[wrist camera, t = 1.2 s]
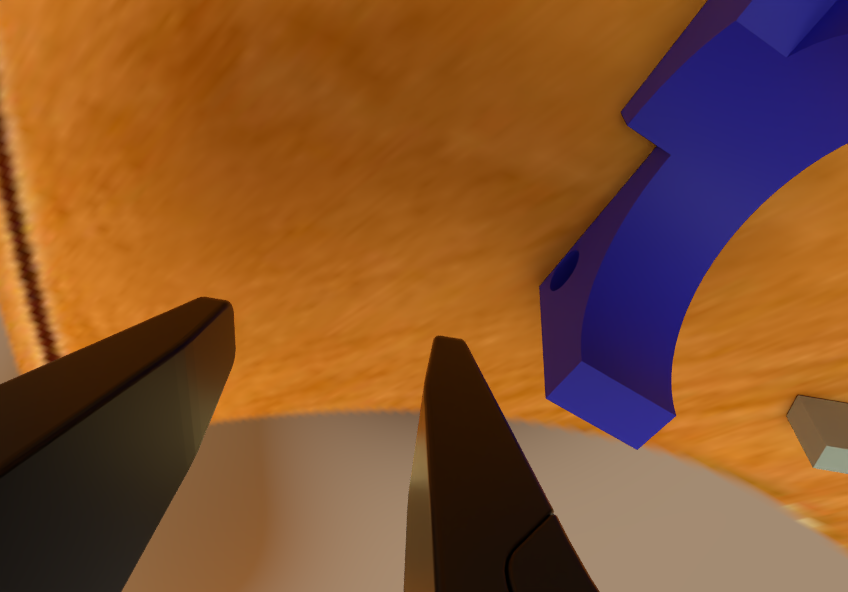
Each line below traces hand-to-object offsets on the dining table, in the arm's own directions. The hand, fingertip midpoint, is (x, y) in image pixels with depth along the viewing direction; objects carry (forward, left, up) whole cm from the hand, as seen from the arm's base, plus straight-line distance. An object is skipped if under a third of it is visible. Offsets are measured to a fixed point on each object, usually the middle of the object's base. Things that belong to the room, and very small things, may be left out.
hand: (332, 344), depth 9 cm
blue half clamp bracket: (-7, 0, -12) cm, 15 cm away
